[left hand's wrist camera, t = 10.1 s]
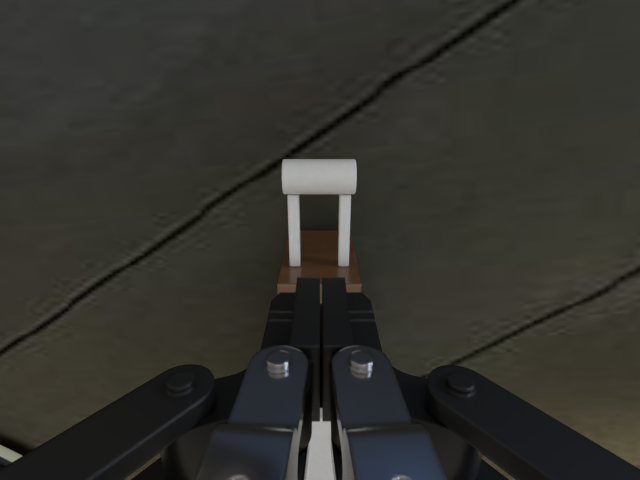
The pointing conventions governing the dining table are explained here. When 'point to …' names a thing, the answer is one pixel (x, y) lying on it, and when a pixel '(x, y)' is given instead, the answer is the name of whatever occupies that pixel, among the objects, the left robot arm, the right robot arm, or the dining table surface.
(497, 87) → the dining table surface
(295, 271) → the drawer
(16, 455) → the boat shoe
